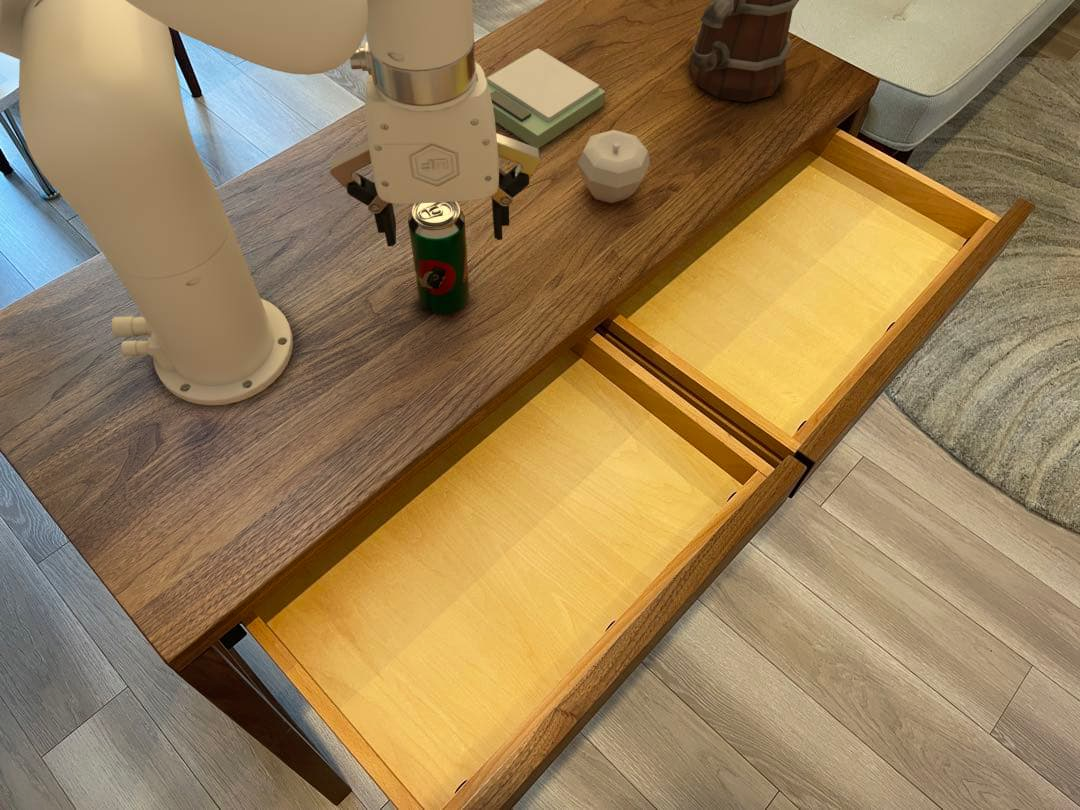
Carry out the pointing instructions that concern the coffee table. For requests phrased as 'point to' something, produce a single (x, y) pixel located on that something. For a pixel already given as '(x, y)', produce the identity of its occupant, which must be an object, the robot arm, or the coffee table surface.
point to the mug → (742, 48)
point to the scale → (541, 97)
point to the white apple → (613, 165)
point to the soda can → (440, 256)
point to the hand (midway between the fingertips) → (445, 232)
